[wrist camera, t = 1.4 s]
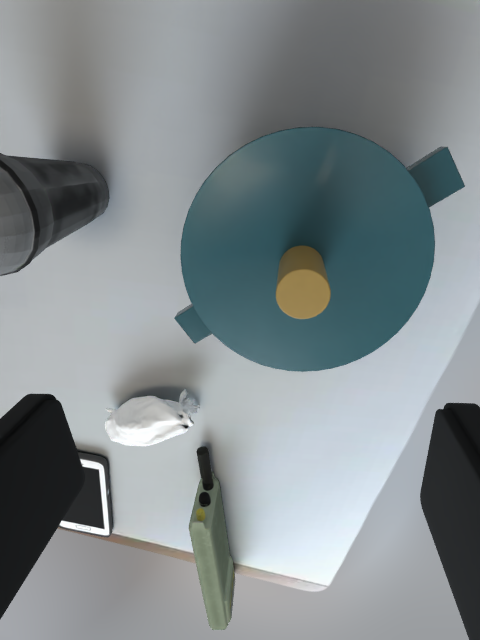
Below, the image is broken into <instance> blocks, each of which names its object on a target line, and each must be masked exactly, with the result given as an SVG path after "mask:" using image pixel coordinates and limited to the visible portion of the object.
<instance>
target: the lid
mask: <svg viewBox="0 0 480 640" xmlns="http://www.w3.org/2000/svg"><path fill="white" fill-rule="evenodd" d="M434 250H435V239H434V227H433V222H432V218H431V213H430V209H429V207H428V204H427V202H426V199H425V197H424V194H423V192H422V191H421V189H420V187H419V186H418V184H417V182H416V180H415V179H414V177H413V176H412V175H411V174H410V173H409V171H408V170H407V169H406V168H405V166H404V165H403V164H402V163H401V162H400V161H399V160H397V159H396V158H395V157H394V156H393V155H392V154H391V153H390V152H388V151H387V150H385V149H384V148H382V147H380V146H379V145H377V144H376V143H374V142H373V141H370V140H368V139H366V138H364V137H361V136H359V135H357V134H354V133H350V132H346V131H343V130H339V129H333V128H324V127H298V128H293V129H287V130H281V131H278V132H275V133H272V134H268V135H265V136H262V137H260V138H258V139H256V140H254V141H252V142H250V143H248V144H246V145H244V146H243V147H241V148H240V149H238V150H237V151H235V152H234V153H232V154H231V155H230V156H228V157H227V158H226V159H225V160H224V161H223V162H222V163H221V164H220V165H218V166H217V167H216V168H215V170H214V171H213V172H212V173H211V174H210V175H209V177H208V178H207V179H206V180H205V182H204V183H203V185H202V186H201V188H200V189H199V191H198V192H197V194H196V196H195V198H194V200H193V202H192V204H191V206H190V209H189V211H188V214H187V217H186V221H185V224H184V228H183V234H182V240H181V266H182V274H183V279H184V283H185V287H186V290H187V293H188V295H189V298H190V301H191V303H192V305H193V306H194V308H195V310H196V312H197V314H198V315H199V317H200V318H201V320H202V321H203V323H204V324H205V325H206V327H207V328H208V329H209V330H210V331H211V332H212V333H213V335H214V336H215V337H217V338H218V339H219V340H220V341H221V342H222V343H223V344H224V345H226V346H227V347H229V348H230V349H231V350H233V351H234V352H236V353H237V354H239V355H241V356H243V357H245V358H247V359H249V360H251V361H253V362H256V363H258V364H261V365H264V366H268V367H271V368H275V369H281V370H287V371H302V372H303V371H319V370H325V369H331V368H335V367H338V366H342V365H346V364H348V363H351V362H353V361H356V360H358V359H360V358H362V357H364V356H366V355H368V354H370V353H372V352H373V351H375V350H376V349H378V348H379V347H381V346H382V345H383V344H385V343H386V342H387V341H388V340H390V339H391V338H392V337H393V336H394V335H395V334H396V333H397V332H398V331H399V330H400V329H401V328H402V327H403V326H404V325H405V324H406V322H407V321H408V320H409V319H410V317H411V316H412V314H413V313H414V311H415V310H416V308H417V307H418V305H419V303H420V301H421V299H422V297H423V295H424V293H425V291H426V288H427V285H428V282H429V280H430V276H431V272H432V267H433V262H434Z"/></svg>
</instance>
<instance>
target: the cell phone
mask: <svg viewBox="0 0 480 640" xmlns="http://www.w3.org/2000/svg"><path fill="white" fill-rule="evenodd" d="M78 455H79V458H80V461H81V463H82V466H83V469H84V472H85V482H84V485H83V487H82V489H81V491H80V492H79V494H78V496H77V497H76V499H75V500H74V502H73V504H72V505H71V507H70V508H69V510H68V512H67V513H66V515H65V516H64V518H63V520H62V521H61V523H60V524H59V527H60V528H63V529H67V530H71V531H76V532H81V533H86V534H91V535H96V536H101V537H109V536H110V535H111V533H112V529H113V527H112V515H111V502H110V493H109V475H108V464H107V461H106V459H105V458H103V457H101V456H97V455H91V454H86V453H81V452H78Z"/></svg>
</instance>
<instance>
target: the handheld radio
mask: <svg viewBox="0 0 480 640" xmlns="http://www.w3.org/2000/svg"><path fill="white" fill-rule="evenodd" d="M197 456H198V462H199V468H200V474H201V478H202V479H201V480H200V483H199V486H198V489H197V493H196V498H195V502H194V506H193V510H192V515H191V519H190V523H189V531H190V536H191V541H192V546H193V551H194V556H195V561H196V566H197V571H198V575H199V580H200V585H201V589H202V594H203V599H204V604H205V608H206V613H207V617H208V622H209V626H210V627H211V628H212V630H225V629H226V627H227V626H228V623H229V622H230V620H231V616H232V606H233V596H234V586H235V574H234V567H233V561H232V558H231V557H230V552H229V545H228V538H227V531H226V525H225V518H224V511H223V504H222V497H221V490H220V484H219V481H218V480H217V479H216V478H215V476H214V473H213V472H212V471H211V465H210V458H209V452H208V448H207V447H200V448H198V449H197Z"/></svg>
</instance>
